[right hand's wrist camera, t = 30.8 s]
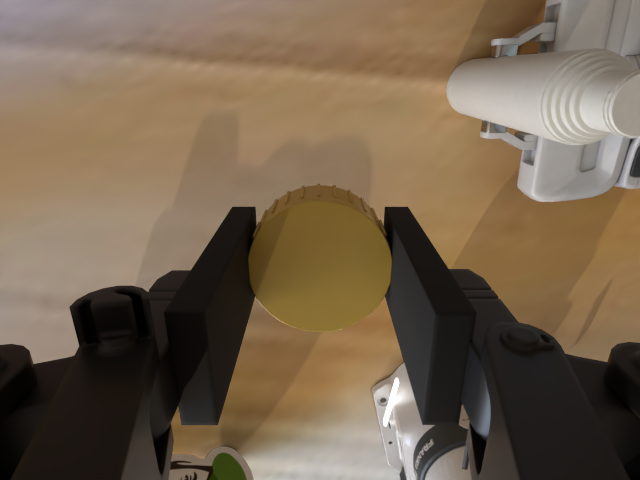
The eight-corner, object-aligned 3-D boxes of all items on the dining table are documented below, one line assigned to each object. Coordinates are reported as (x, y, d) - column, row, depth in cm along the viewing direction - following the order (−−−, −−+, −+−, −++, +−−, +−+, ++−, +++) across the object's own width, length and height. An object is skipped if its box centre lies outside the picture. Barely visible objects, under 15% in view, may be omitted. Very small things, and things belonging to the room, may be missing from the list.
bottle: (441, 69, 43) (581, 66, 20) (494, 51, 42) (703, 25, 19) (452, 121, 45) (591, 174, 22) (503, 104, 44) (703, 140, 21)
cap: (302, 324, 15) (300, 355, 14) (227, 229, 14) (214, 251, 12) (409, 264, 14) (421, 289, 13) (340, 156, 13) (343, 168, 11)
